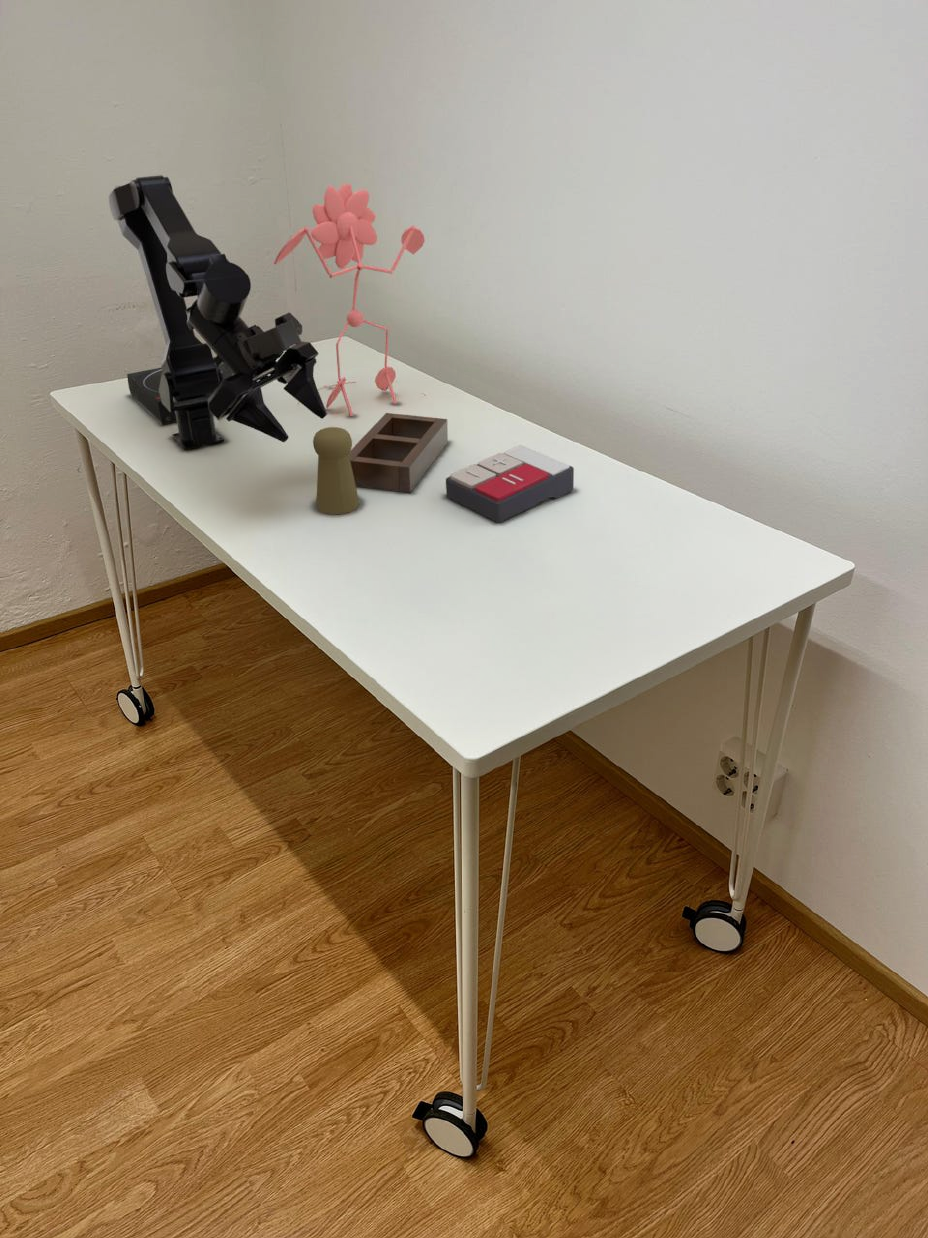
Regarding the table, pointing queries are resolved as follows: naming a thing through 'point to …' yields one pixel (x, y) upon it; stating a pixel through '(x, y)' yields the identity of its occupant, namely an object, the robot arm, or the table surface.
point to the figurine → (350, 257)
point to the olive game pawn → (334, 472)
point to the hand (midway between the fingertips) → (306, 428)
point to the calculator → (510, 483)
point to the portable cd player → (156, 392)
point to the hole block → (397, 451)
